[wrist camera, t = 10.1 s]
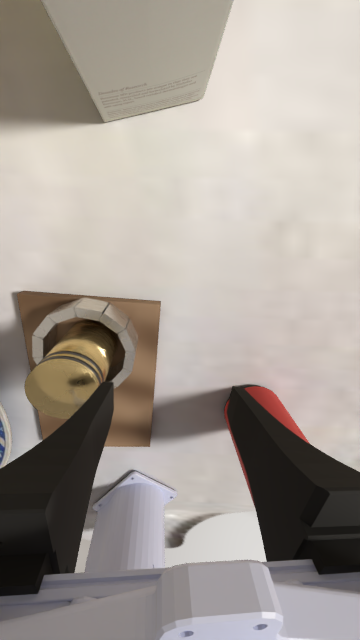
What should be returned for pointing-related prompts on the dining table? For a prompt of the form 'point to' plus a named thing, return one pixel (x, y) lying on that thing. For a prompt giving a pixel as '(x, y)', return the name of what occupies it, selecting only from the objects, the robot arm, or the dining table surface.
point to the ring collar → (95, 311)
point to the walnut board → (137, 388)
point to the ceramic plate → (4, 437)
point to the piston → (72, 369)
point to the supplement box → (141, 49)
